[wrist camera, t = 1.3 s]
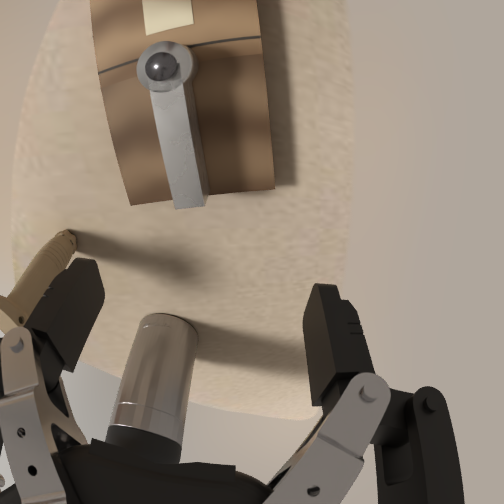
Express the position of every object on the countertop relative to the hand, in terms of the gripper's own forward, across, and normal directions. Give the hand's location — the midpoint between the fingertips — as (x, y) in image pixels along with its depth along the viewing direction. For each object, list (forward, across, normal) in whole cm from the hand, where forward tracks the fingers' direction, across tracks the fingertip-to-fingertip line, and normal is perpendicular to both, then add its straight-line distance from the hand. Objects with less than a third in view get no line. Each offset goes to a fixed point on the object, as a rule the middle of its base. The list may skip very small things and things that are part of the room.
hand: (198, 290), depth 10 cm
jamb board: (+18, +5, -8) cm, 20 cm away
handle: (+18, +21, +12) cm, 30 cm away
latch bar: (+16, +4, -3) cm, 17 cm away
